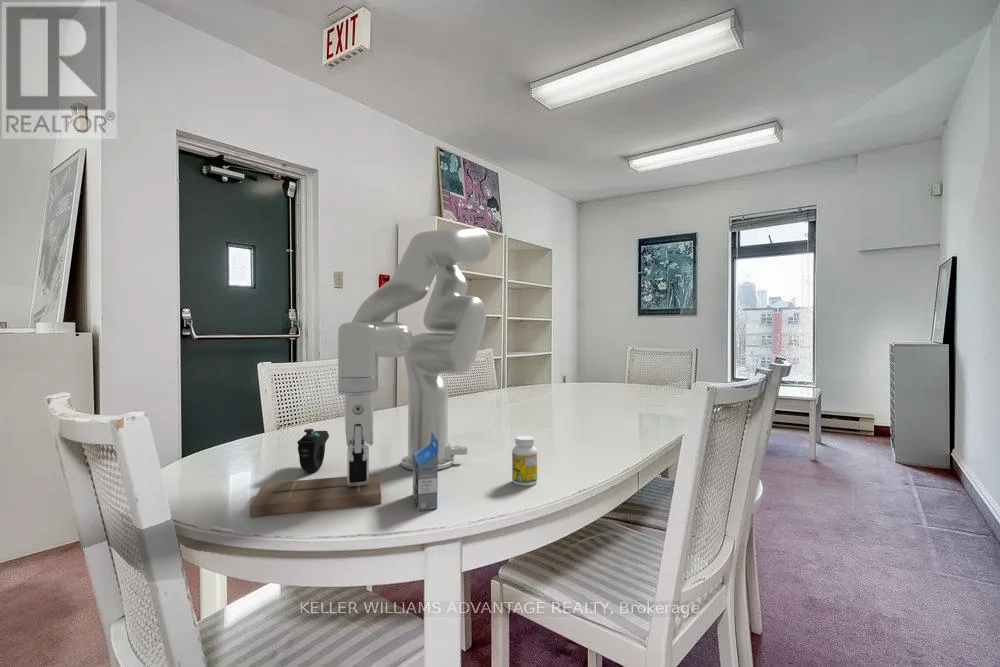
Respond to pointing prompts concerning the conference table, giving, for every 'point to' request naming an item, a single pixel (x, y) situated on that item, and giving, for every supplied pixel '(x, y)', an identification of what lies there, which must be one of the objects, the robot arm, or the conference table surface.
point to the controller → (312, 449)
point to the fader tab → (353, 460)
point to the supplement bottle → (524, 461)
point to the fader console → (313, 495)
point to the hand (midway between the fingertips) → (358, 477)
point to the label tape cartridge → (426, 476)
